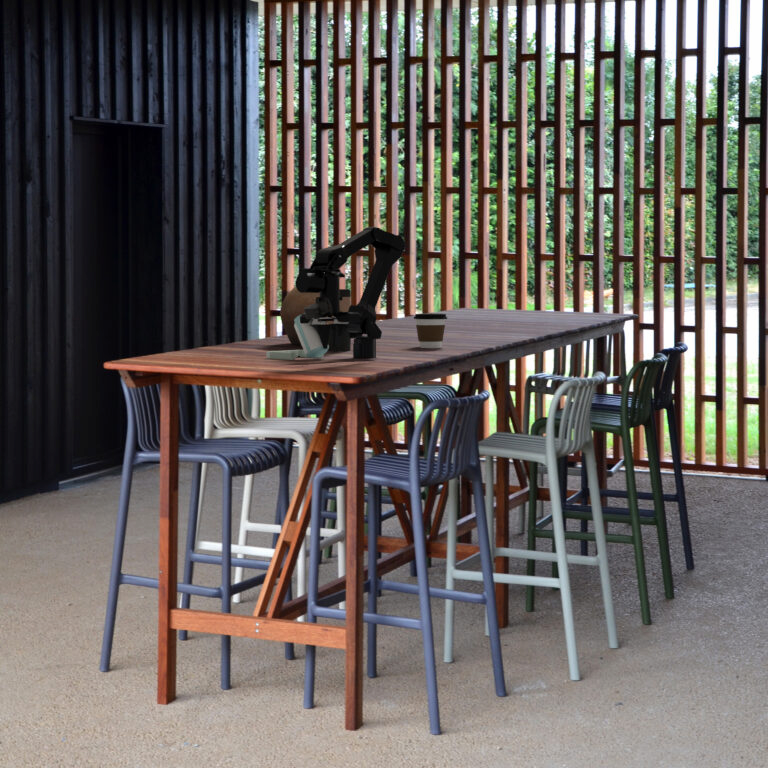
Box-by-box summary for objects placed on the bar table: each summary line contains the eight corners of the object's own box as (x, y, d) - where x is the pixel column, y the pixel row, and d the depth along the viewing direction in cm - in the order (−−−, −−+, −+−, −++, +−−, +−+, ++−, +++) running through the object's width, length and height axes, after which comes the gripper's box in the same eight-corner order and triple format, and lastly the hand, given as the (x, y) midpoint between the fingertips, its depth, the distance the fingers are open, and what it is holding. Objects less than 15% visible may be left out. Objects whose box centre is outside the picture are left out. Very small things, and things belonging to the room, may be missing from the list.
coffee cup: (444, 352, 402) (444, 314, 401) (410, 351, 404) (410, 314, 403) (449, 350, 412) (449, 313, 411) (416, 350, 415) (416, 313, 414)
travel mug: (321, 353, 396) (321, 289, 394) (341, 352, 401) (340, 289, 399) (336, 354, 390) (336, 289, 388) (356, 353, 395) (356, 289, 393)
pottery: (309, 348, 428) (309, 274, 426) (365, 350, 415) (365, 273, 413) (266, 351, 409) (265, 273, 407) (323, 353, 396) (322, 273, 394)
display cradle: (298, 356, 377) (298, 349, 377) (323, 357, 370) (323, 351, 370) (266, 358, 367) (266, 351, 367) (291, 359, 360) (291, 352, 360)
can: (318, 358, 366) (304, 322, 369) (334, 347, 362) (319, 310, 365) (302, 359, 361) (287, 322, 364) (317, 348, 357) (302, 310, 360)
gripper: (285, 294, 357) (286, 349, 358) (334, 291, 345) (335, 348, 346) (313, 295, 366) (314, 349, 366) (361, 292, 354) (362, 348, 354)
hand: (330, 348), depth 358 cm, fingers open, 3 cm apart
